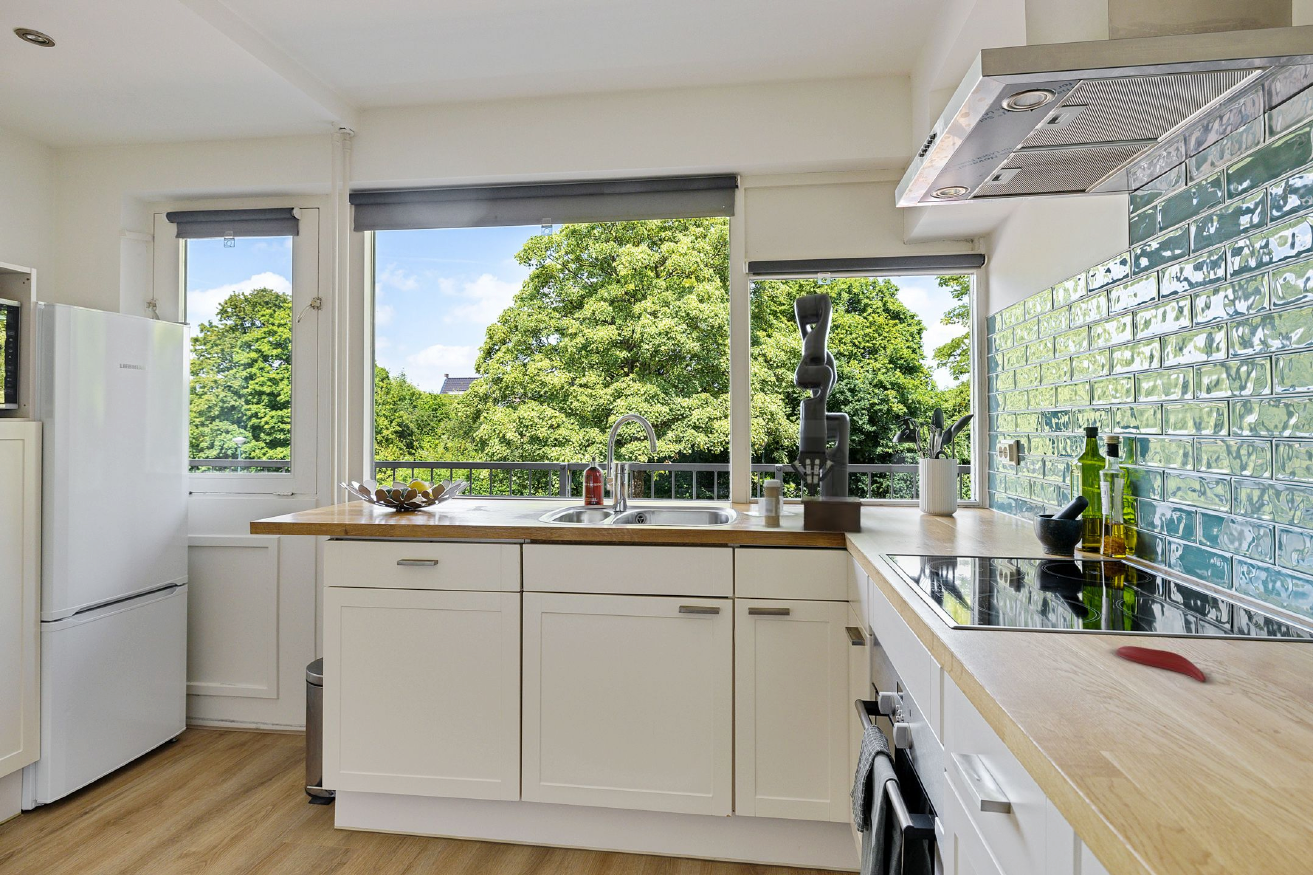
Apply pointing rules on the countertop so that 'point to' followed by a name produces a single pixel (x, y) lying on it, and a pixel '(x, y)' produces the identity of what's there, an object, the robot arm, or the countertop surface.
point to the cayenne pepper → (1161, 660)
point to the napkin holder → (762, 508)
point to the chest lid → (831, 500)
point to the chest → (832, 518)
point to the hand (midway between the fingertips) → (812, 496)
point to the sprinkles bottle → (772, 503)
